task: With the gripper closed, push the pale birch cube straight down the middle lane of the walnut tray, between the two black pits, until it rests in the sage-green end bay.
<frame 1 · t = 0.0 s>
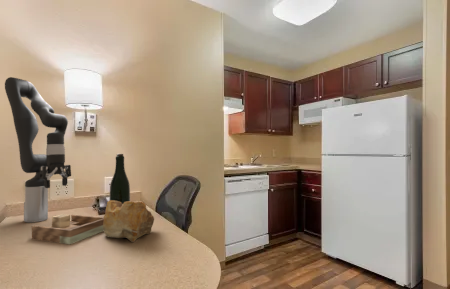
hand: (56, 186, 118), 17 cm above the table, tool pointing down, fingers open, 8 cm apart
birch block: (61, 226, 102), point 2 cm above the table, touching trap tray
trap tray: (71, 233, 100), on the table
dark green wine bottle: (119, 215, 130), on the table
rough brown rock: (133, 236, 97), on the table
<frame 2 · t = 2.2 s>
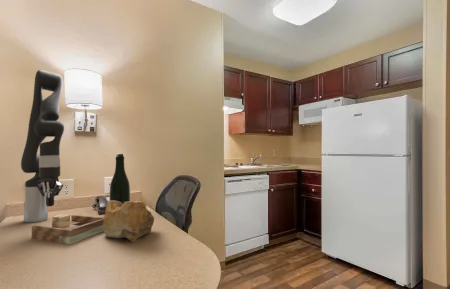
hand: (50, 206, 104), 11 cm above the table, tool pointing down, fingers closed
nothing on the table moved.
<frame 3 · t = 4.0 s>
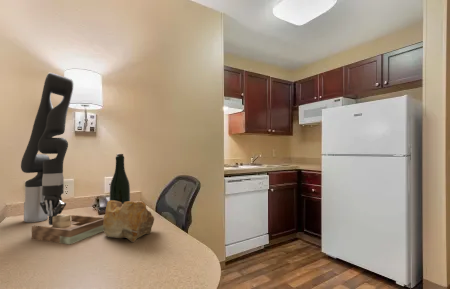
hand: (52, 224, 103), 3 cm above the table, tool pointing down, fingers closed
birch block: (61, 226, 102), point 3 cm above the table, touching gripper, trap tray
everything else where it was.
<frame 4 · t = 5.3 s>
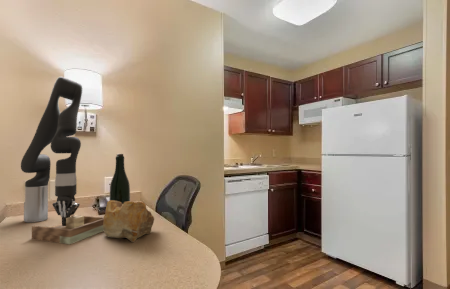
hand: (65, 225, 101), 3 cm above the table, tool pointing down, fingers closed
birch block: (75, 228, 99), point 2 cm above the table, touching gripper, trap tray
everything else where it was.
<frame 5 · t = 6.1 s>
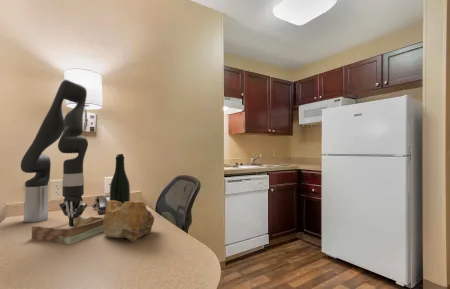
hand: (73, 226, 99), 3 cm above the table, tool pointing down, fingers closed
birch block: (82, 228, 98), point 2 cm above the table, touching gripper, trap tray
everything else where it was.
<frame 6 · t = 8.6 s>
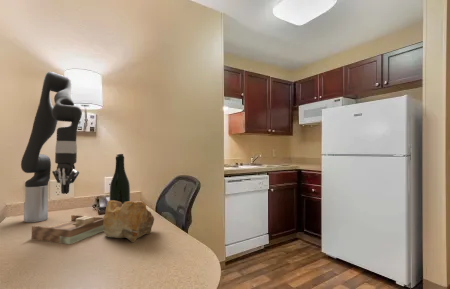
hand: (65, 193, 101), 17 cm above the table, tool pointing down, fingers closed
birch block: (84, 228, 98), point 2 cm above the table, touching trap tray
everything else where it was.
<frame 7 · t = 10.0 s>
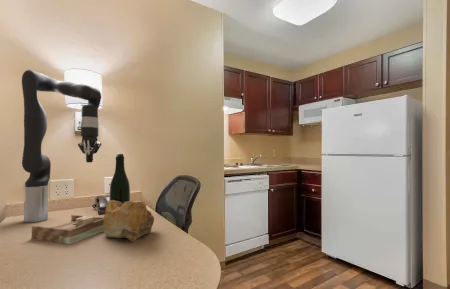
hand: (89, 162, 117), 29 cm above the table, tool pointing down, fingers closed
nothing on the table moved.
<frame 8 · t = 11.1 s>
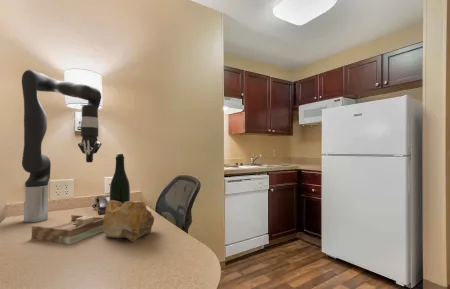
hand: (89, 162, 117), 29 cm above the table, tool pointing down, fingers closed
nothing on the table moved.
at the end: birch block 0.6 cm from the target spot on the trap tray, point 2.5 cm above the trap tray's base; birch block tilted 0° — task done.
